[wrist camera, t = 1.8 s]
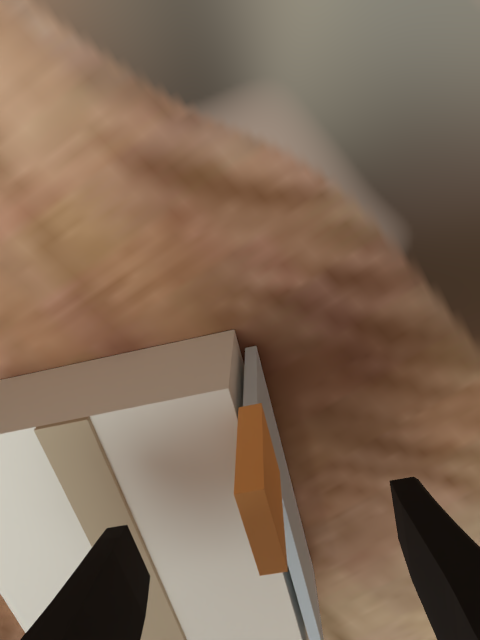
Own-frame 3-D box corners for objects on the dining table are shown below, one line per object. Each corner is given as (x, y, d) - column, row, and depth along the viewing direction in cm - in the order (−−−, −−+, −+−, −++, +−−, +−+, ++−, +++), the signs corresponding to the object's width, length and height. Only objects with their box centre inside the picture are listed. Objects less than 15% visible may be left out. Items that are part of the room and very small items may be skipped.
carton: (302, 581, 25) (314, 686, 20) (105, 610, 26) (72, 714, 22) (234, 329, 19) (228, 391, 15) (-13, 382, 21) (-94, 455, 16)
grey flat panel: (316, 570, 24) (347, 781, 16) (302, 572, 24) (326, 783, 16) (259, 344, 19) (264, 489, 11) (241, 348, 19) (233, 494, 11)
